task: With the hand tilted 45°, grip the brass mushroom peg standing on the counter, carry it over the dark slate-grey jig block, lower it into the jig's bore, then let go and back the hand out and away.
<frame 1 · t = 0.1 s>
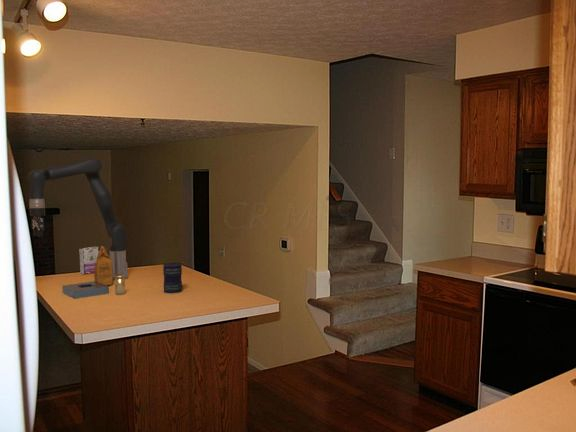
hand: (38, 236, 291), 29 cm above the countertop, tool pointing down, fingers open, 8 cm apart
jig: (85, 293, 283), on the countertop
brass mushroom peg: (120, 294, 281), on the countertop
storage jar: (172, 291, 287), on the countertop
candy bar box: (89, 273, 342), on the countertop
coffee package: (103, 285, 305), on the countertop
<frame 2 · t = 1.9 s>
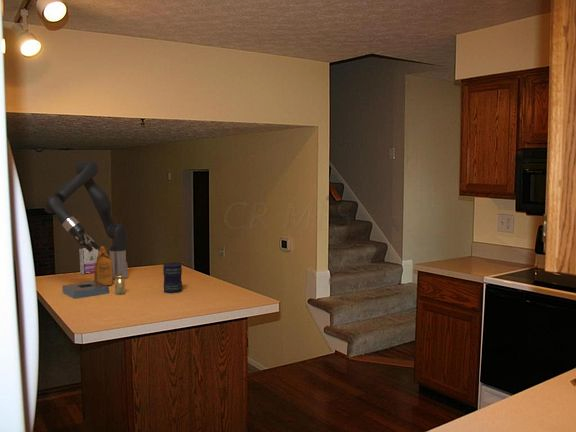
hand: (94, 249, 280), 24 cm above the countertop, tool tilted 45°, fingers open, 8 cm apart
nothing on the countertop moved.
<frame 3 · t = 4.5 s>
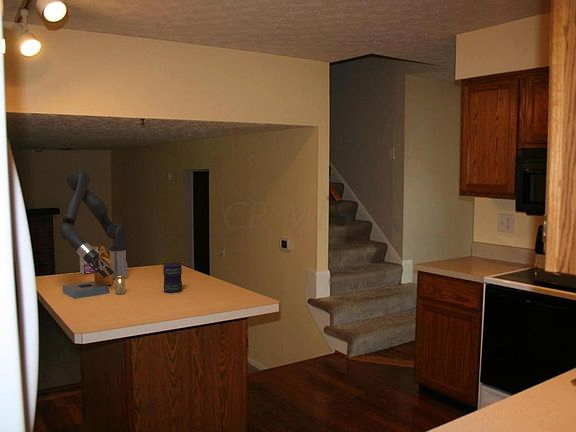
hand: (109, 275, 281), 10 cm above the countertop, tool tilted 45°, fingers open, 8 cm apart
nothing on the countertop moved.
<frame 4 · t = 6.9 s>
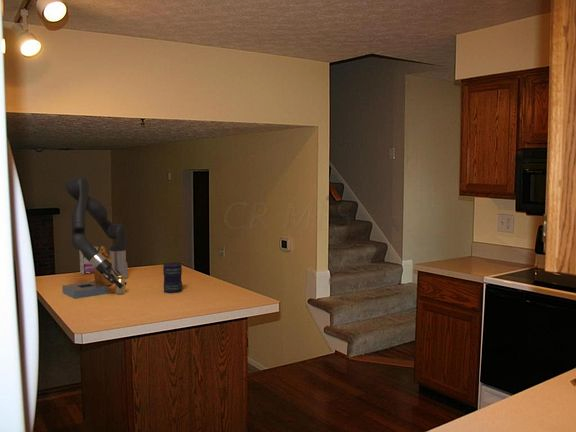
hand: (123, 285, 281), 4 cm above the countertop, tool tilted 45°, fingers closed on brass mushroom peg, 4 cm apart
brass mushroom peg: (120, 294, 281), on the countertop, touching gripper
everything else where it was.
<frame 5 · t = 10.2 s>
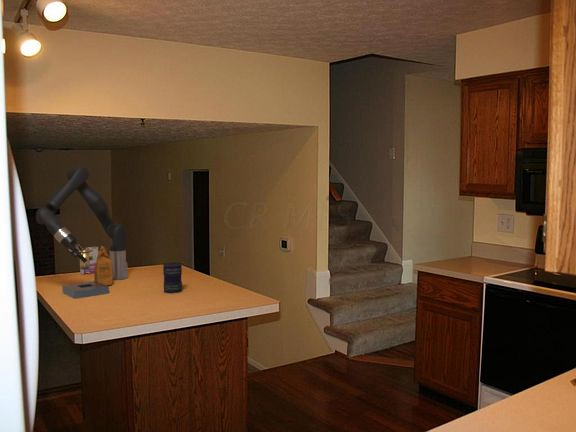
hand: (88, 260, 282), 18 cm above the countertop, tool tilted 45°, fingers closed on brass mushroom peg, 4 cm apart
brass mushroom peg: (84, 268, 282), point 13 cm above the countertop, touching gripper
everything else where it was.
when the fingers open (6 cm above the countertop, at t = 13.5 s): brass mushroom peg stays where it is, resting on jig.
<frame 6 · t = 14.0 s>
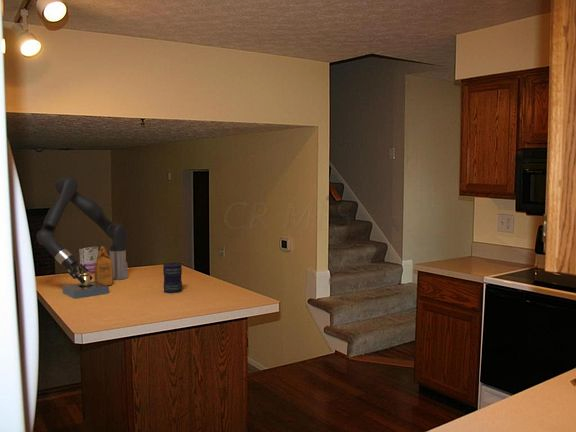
hand: (87, 280, 283), 7 cm above the countertop, tool tilted 45°, fingers open, 8 cm apart
brass mushroom peg: (85, 291, 283), point 1 cm above the countertop, touching jig
everything else where it was.
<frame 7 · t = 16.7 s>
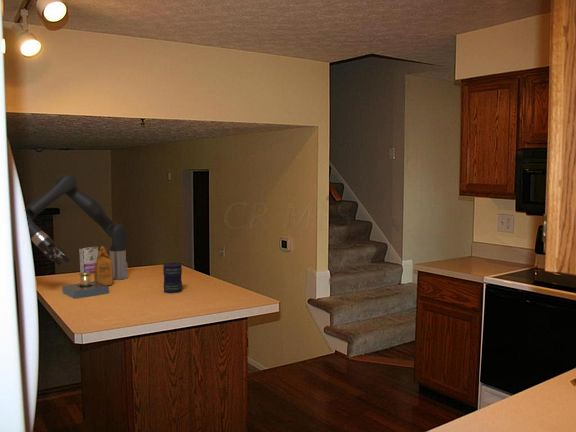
hand: (64, 263, 283), 16 cm above the countertop, tool tilted 45°, fingers open, 8 cm apart
nothing on the countertop moved.
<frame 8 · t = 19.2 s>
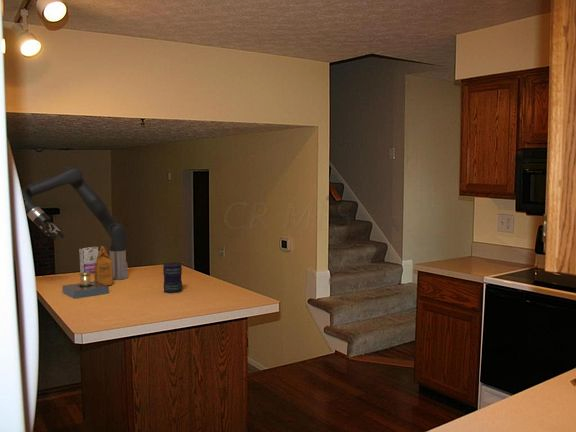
hand: (60, 238, 288), 29 cm above the countertop, tool tilted 45°, fingers open, 8 cm apart
nothing on the countertop moved.
at the end: brass mushroom peg 0.1 cm off-centre on the jig, point 1.0 cm above the jig's base; brass mushroom peg tilted 0°; the gripper is holding nothing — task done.
